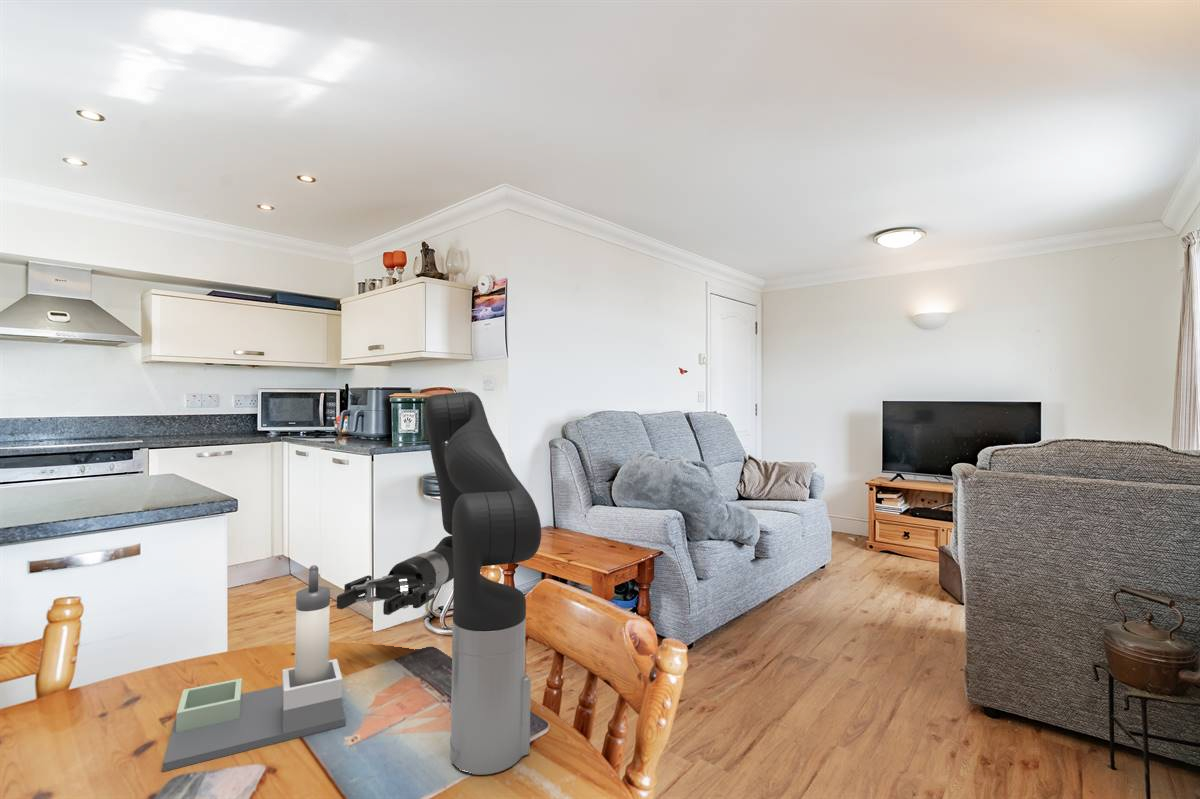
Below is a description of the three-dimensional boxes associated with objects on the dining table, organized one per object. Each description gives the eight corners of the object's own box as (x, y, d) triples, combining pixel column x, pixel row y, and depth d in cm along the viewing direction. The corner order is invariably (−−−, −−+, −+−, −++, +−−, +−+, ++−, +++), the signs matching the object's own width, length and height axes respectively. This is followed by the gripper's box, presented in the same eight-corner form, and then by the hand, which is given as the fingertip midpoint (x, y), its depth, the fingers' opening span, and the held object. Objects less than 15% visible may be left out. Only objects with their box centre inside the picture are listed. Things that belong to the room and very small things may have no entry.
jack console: (334, 680, 90) (335, 639, 90) (345, 725, 77) (346, 678, 78) (178, 713, 80) (179, 667, 80) (162, 771, 67) (164, 717, 67)
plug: (326, 682, 81) (328, 559, 82) (329, 695, 78) (331, 567, 78) (293, 689, 79) (296, 563, 79) (295, 703, 76) (297, 571, 76)
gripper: (386, 552, 106) (323, 577, 90) (454, 559, 103) (402, 586, 87) (385, 592, 106) (322, 624, 90) (453, 600, 102) (401, 635, 87)
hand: (361, 605), depth 89 cm, fingers open, 8 cm apart
